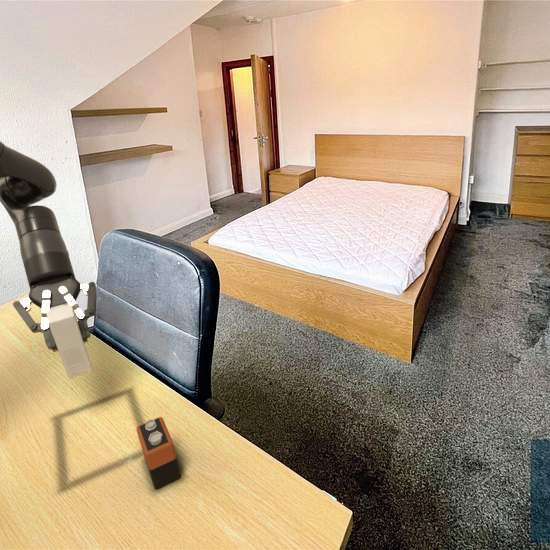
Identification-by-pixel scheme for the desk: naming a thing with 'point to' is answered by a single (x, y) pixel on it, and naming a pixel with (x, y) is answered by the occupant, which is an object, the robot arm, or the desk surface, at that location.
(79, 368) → the cosmetic box
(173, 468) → the battery
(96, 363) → the desk surface
